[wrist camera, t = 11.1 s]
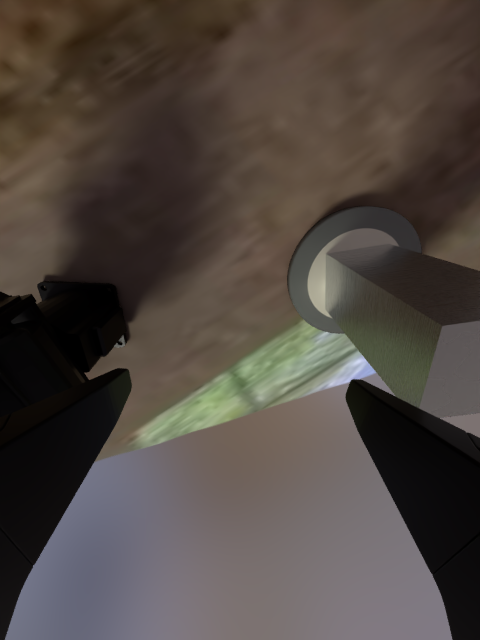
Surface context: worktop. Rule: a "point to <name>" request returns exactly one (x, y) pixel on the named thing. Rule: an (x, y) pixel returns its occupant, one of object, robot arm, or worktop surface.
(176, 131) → the worktop surface
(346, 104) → the worktop surface
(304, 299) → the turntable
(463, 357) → the block
